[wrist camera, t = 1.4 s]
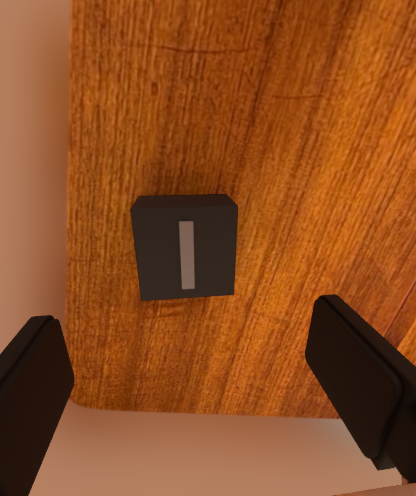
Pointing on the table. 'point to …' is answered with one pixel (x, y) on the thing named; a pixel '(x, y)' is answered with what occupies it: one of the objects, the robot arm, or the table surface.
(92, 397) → the table surface
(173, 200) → the pad
